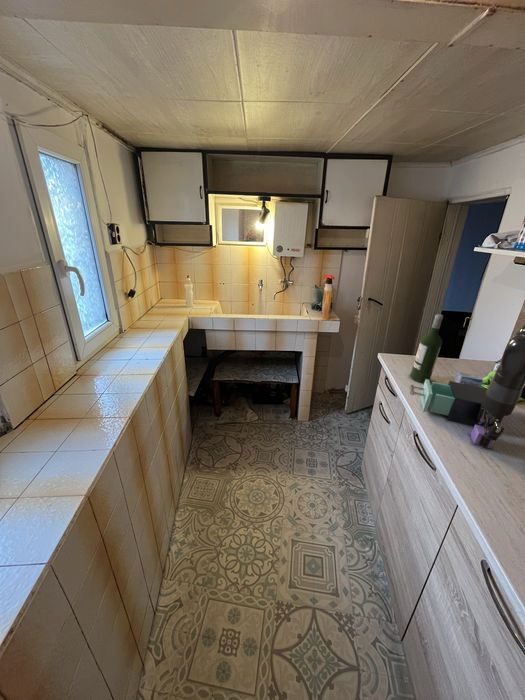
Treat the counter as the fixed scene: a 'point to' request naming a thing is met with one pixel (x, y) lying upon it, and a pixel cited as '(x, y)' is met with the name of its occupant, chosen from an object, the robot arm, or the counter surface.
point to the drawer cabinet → (466, 403)
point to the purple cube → (479, 435)
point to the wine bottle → (427, 353)
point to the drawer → (435, 397)
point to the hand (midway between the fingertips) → (480, 440)
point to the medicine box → (469, 379)
